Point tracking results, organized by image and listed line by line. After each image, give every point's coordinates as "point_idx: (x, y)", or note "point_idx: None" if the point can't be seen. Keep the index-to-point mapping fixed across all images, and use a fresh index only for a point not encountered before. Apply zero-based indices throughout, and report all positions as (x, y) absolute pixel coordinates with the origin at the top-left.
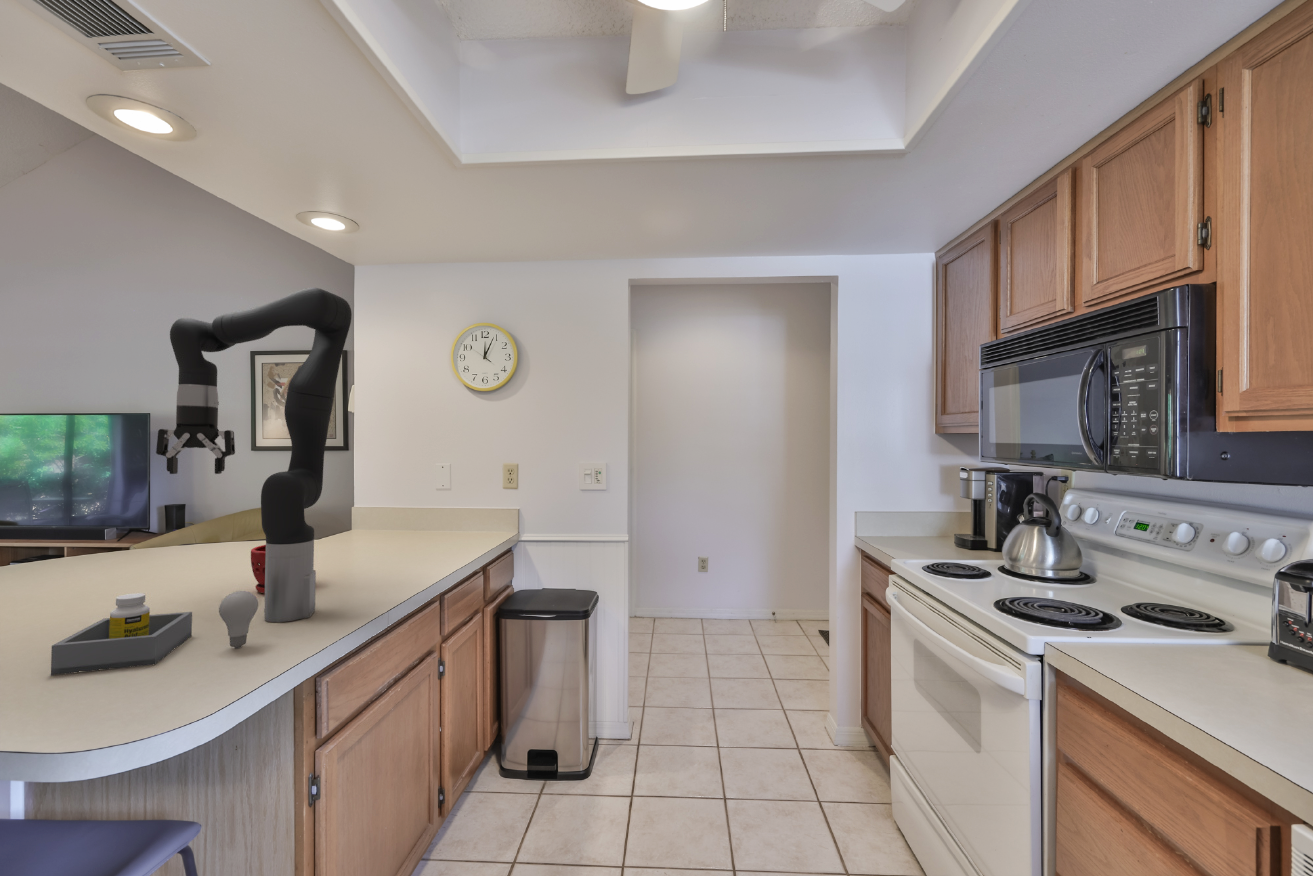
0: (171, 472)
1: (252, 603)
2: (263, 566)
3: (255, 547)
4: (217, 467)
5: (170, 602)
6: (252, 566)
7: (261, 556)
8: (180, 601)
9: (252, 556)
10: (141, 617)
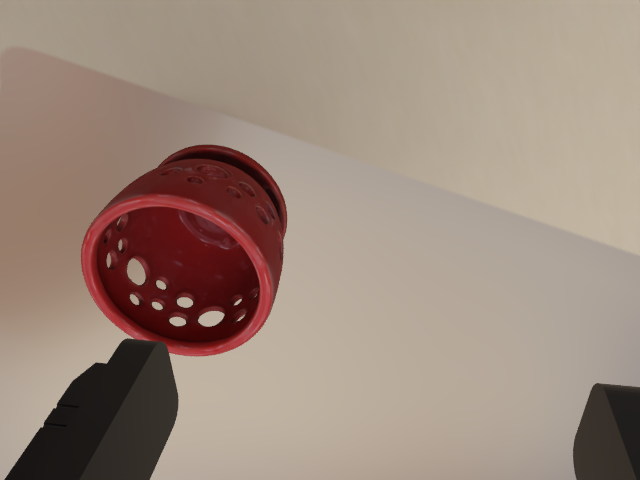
0: (623, 391)
1: None
2: (216, 179)
3: (265, 300)
4: (97, 386)
5: (504, 156)
6: (267, 216)
7: (212, 199)
8: (477, 158)
9: (255, 228)
10: None
